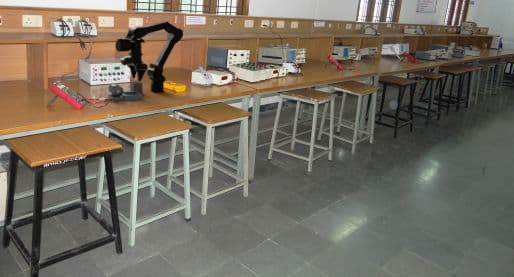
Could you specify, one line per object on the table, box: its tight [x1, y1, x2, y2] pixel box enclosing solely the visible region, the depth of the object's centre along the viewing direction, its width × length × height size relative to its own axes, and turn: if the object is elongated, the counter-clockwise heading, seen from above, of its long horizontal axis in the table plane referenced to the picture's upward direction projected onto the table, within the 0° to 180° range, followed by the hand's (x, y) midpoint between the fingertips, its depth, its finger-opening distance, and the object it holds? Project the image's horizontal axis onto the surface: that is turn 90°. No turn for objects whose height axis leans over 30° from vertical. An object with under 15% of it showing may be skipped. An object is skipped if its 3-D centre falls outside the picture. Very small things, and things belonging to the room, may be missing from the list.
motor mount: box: [107, 83, 143, 102], centre depth 219 cm, size 15×10×8 cm, turn 125°
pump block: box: [130, 79, 144, 95], centre depth 232 cm, size 5×5×8 cm
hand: (136, 79), depth 231 cm, fingers open, 9 cm apart
